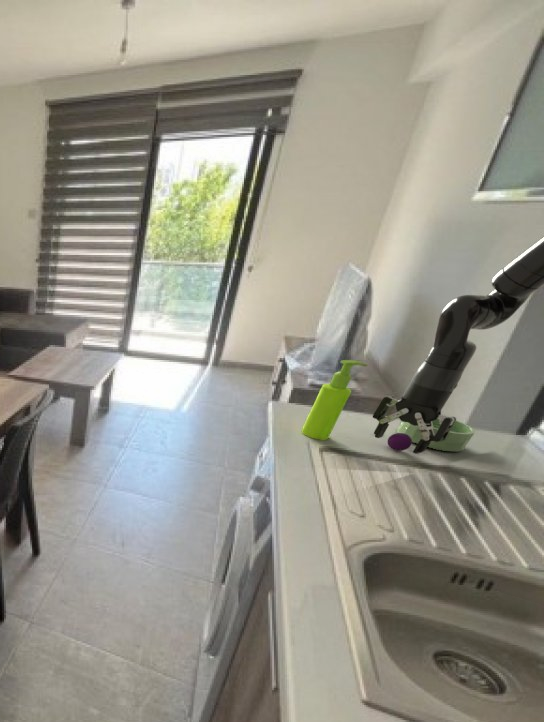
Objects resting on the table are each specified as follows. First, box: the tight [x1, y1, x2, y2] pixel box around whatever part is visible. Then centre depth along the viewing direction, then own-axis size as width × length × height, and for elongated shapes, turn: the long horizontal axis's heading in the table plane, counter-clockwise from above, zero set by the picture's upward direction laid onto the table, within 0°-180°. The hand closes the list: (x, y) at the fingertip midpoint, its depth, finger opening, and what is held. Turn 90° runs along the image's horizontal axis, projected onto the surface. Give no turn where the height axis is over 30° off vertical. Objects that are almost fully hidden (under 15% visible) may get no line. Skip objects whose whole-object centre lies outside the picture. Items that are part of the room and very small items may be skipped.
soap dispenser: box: [301, 359, 368, 441], centre depth 120 cm, size 6×7×20 cm
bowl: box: [396, 419, 476, 452], centre depth 124 cm, size 13×13×6 cm
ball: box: [387, 432, 413, 452], centre depth 119 cm, size 4×4×4 cm
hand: (396, 444), depth 119 cm, fingers open, 8 cm apart
